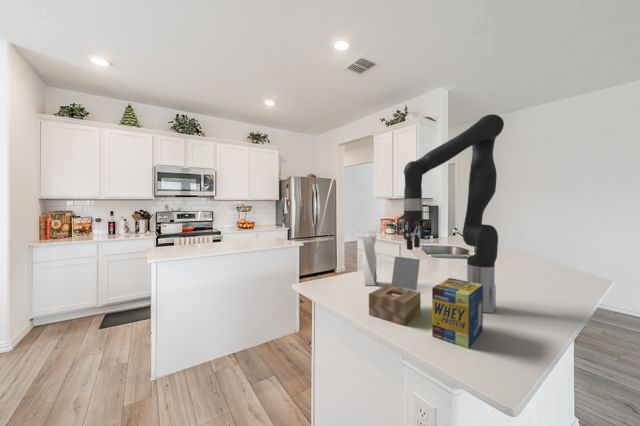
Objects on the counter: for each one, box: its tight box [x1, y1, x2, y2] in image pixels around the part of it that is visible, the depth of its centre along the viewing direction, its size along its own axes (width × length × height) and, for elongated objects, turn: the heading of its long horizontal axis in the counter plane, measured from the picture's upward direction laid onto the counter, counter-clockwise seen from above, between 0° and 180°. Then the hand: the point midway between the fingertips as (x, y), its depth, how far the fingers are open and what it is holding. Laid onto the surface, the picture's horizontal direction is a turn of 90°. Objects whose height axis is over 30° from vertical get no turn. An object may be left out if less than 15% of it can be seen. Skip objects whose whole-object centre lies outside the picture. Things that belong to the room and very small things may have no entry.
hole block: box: [368, 285, 422, 327], centre depth 98 cm, size 14×14×8 cm
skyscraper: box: [361, 231, 380, 287], centre depth 136 cm, size 8×8×28 cm
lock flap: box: [390, 255, 420, 292], centre depth 105 cm, size 12×10×1 cm
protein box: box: [431, 277, 484, 349], centre depth 82 cm, size 10×15×16 cm
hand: (413, 248), depth 110 cm, fingers open, 7 cm apart
